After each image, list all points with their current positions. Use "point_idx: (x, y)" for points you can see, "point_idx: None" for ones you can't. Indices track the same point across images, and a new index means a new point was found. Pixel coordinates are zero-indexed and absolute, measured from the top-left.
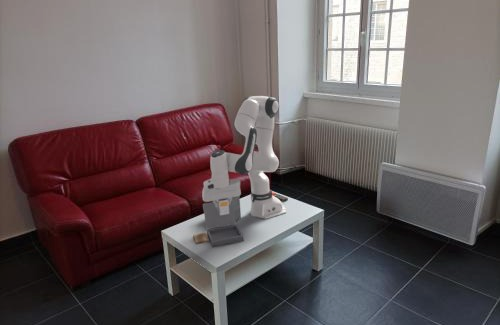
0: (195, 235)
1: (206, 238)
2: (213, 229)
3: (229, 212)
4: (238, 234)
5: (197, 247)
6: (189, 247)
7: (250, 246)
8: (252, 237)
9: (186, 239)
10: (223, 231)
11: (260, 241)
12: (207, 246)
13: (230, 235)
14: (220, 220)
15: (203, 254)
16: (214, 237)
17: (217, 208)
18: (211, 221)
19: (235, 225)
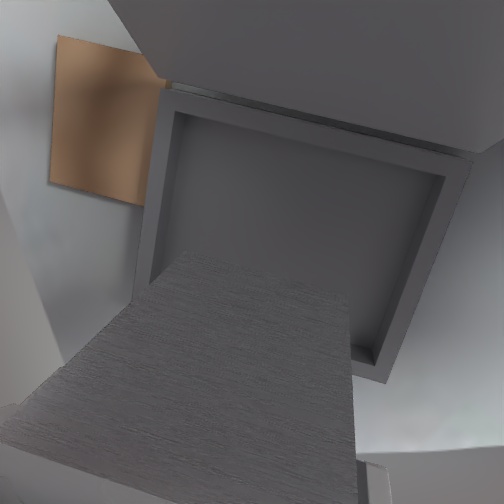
0: (70, 60)
1: (137, 173)
2: (219, 114)
3: (480, 81)
4: (394, 280)
5: (56, 227)
6: (6, 192)
7: (373, 440)
8: (469, 359)
9: (4, 53)
10: (313, 147)
11: (476, 437)
12: (121, 259)
13: (328, 252)
14: (314, 85)
15: (70, 329)
16: (199, 199)
17: (167, 270)
18: (202, 57)
19: (450, 174)
